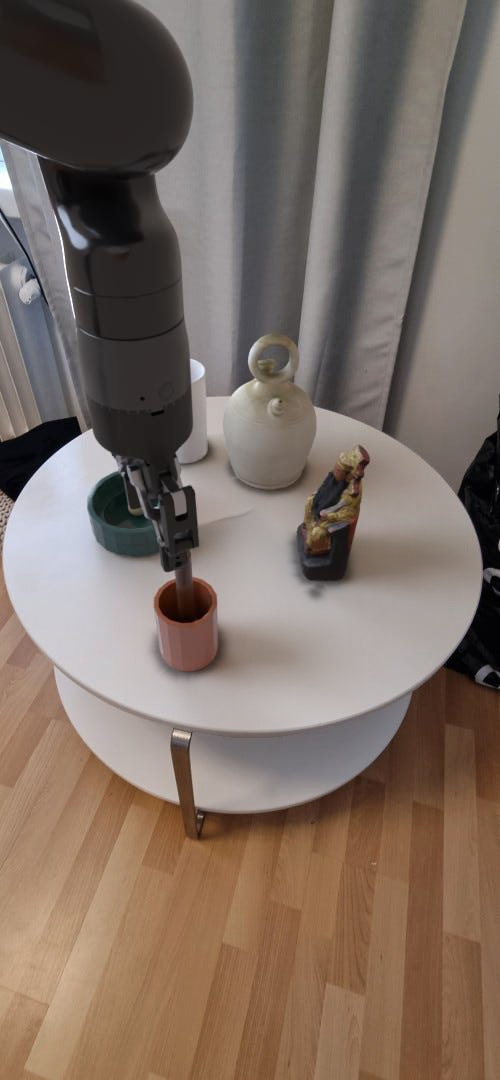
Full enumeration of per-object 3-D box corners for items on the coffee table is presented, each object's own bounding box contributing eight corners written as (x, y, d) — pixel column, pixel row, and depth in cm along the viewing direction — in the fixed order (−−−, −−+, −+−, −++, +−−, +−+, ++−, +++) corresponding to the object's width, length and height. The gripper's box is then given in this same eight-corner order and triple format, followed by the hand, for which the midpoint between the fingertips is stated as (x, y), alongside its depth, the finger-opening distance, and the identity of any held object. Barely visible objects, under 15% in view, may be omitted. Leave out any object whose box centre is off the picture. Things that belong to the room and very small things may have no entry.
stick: (182, 653, 77) (174, 563, 63) (177, 641, 78) (167, 551, 65) (201, 646, 77) (196, 556, 64) (195, 634, 79) (189, 543, 65)
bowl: (110, 573, 86) (104, 545, 82) (82, 510, 95) (75, 482, 90) (201, 541, 91) (200, 513, 87) (166, 485, 100) (163, 457, 95)
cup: (191, 469, 103) (186, 389, 91) (153, 453, 105) (144, 374, 94) (216, 444, 108) (214, 366, 96) (179, 430, 110) (173, 352, 99)
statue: (294, 531, 93) (308, 428, 78) (344, 534, 93) (367, 431, 78) (296, 591, 85) (311, 488, 70) (351, 594, 85) (377, 491, 70)
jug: (231, 436, 110) (232, 306, 91) (313, 446, 108) (331, 316, 90) (215, 490, 99) (213, 356, 81) (306, 502, 98) (324, 368, 80)
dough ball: (125, 500, 94) (123, 508, 91) (140, 492, 93) (137, 500, 90) (136, 513, 95) (134, 521, 92) (150, 505, 94) (148, 513, 92)
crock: (173, 680, 74) (168, 636, 67) (151, 635, 79) (144, 589, 72) (227, 657, 77) (227, 612, 70) (203, 615, 81) (201, 568, 74)
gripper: (57, 341, 44) (92, 498, 56) (119, 447, 36) (145, 606, 48) (151, 322, 47) (166, 476, 59) (229, 416, 38) (228, 575, 50)
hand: (156, 534), depth 53 cm, fingers open, 8 cm apart
